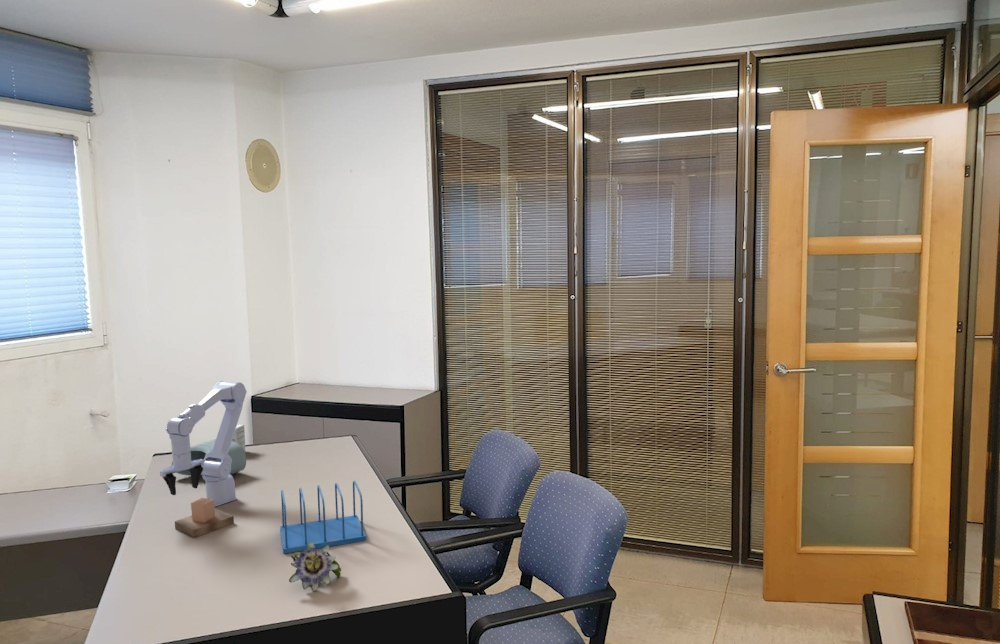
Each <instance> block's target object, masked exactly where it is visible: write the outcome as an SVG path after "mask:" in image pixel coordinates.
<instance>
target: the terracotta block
mask: <svg viewBox="0 0 1000 644" xmlns="http://www.w3.org/2000/svg"><path fill="white" fill-rule="evenodd" d="M215 508H216V507H215V506H214V499H208V498H207V497H200V498H198V499H196V500H194V501H193V502H191V503H190V509H191V516H192V521H198V522H206V521H208V520H210V519H212V518H213V517H215Z"/></svg>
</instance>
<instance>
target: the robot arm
mask: <svg viewBox="0 0 1000 644" xmlns="http://www.w3.org/2000/svg"><path fill="white" fill-rule="evenodd" d="M246 395H247V389H246V387H245V385H244V384H243V383H242V382H240V381H239V382H233V381H224V380H220V381H218V382H216V384H215V385H213V386H212V389H211V390H210V392H209V393H208V394H207V395H206V396H205V397H203V398H202V400H201V401H200V402H199V403H193V404H189V405H188V408H187V409H185V410H184V411H183V412H181V413H179V415H178V416H177V417H173V418H171V419H170V420H168V422H167V424H166V427H165V431H166V433H167V434H168V435H169V440H170V441H171V442H170V443H171V445H170V446H171V454H172V461H173V465H172V464H171V465H170V466H169V467H166V468H163V469H160V470H159V475H160V476H159V477H162V479H163V481H165V483H166V485H167V487H168V489H169V492H170V494H171V495H172V496H176V495H177V491H176V490H177V489H176V481H177V476H175V475H174V474H178V473H177V472H180V471H184V470H187V469H190V473H191V475H190V476H191V477H190V479H191V487H192V488H193V489H198V485H199V481H200V479H201V477H202V476H203V477H204V479H205V480H204V479H203V480H204V482H205V493H206V494H205V495H206V497H205V498H208V499H214V506H215V508H216V507H218V506H221V505H223V504H227V503H229V502H233V501H236V500H237V499H238V498H237V497H236V496H237V495H236V483H235V482H236V481H235V479H234V477H233V475H232V474H231V475H230V472H231V463H232V459H231V457H230V456H229V455H228V451H229V448H230V445H231V442H232V439H233V436H234V432H235V429H236V426H237V424H238V423H239V420H240V418H241V417H240V416H241V413H242V410H243V408H244V407H243V406H244V401H245V398H246ZM218 402H220V403H221V404H222V405H223V406H224V407H225V411H224V413H223V417H222V419H221V422H220V426H219V428H218V431H217V435H216V437H215V439H216V441H215V444H214V447H213V450H212V451H210V452H209V453H207V454H206V455H205V458H204V460H202V459H199V460H194V461H191V451H190V447H191V442H190V437H191V436H190V434H191V433H192V432H193V429H194V427H195V426H196V424H197V423H198V422H199V421H201V420H202V419H203V418H204V417H205V416H206V411H207V410H209V409H210V408H211V407H213V406H214V405H216V404H217V403H218ZM218 460H221V461H218ZM203 477H202V478H203Z"/></svg>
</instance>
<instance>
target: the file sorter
mask: <svg viewBox="0 0 1000 644" xmlns="http://www.w3.org/2000/svg"><path fill="white" fill-rule="evenodd" d="M358 485H359V484H357V481H356V480H353V481H352V505H353V508H352V509H353V515H347V516H345V514H344V513H345V511H344V510H345V508H344V499H343V494H342V491H341V489H340V486H339V484H338V482H335V483H334V493H335V495H334V498H335V516H336V517H335V518H334V517H333V518H329V519H328V518H327V519H326V511H325V510H326V508H325V507H326V505H325V498H324V495H323V492H322V489H321V485H320V484H319V485H317V510H318V520H313V521H308V522H307V516H306V515H307V514H306V502H305V498H304V494H303V489H302V487H301V486H300V487H299V488H298V489H299V490H298V491H299V493H298V494H299V512H300V513H299V514H300V516H299V517H300V523H294V524H288V523H287V507H286V499H285V493H284V490H283V489H281V490H280V494H281V495H280V496H281V497H280V498H281V516H282V517H281V518H282V521H281V522H282V525H281V526H279V530H280V537H281V544H282V545H281V546H282V552H283V554H289V553H290V554H292V553H296V552H301V551H303V552H304V551H305V550H306V549H307V547H308V545H309V543H310V542H311V543H313V544H314V546H315V547H316V549H322V548H324V547H326V546H329V547H334V546H340V545H345V544H348V545H349V544H352V543H359V542H365V541H367V536H366V533H365V531H364V514H363V513H364V510H363V507H364V505H363V503H364V502H363V496H362V492H361V490H360V488H359V486H358ZM355 489H356V490H357V492H358V494H359V499H360V518H359V516H358V514H356V490H355ZM338 494H339V496H340V501H341V517H339V513H338V512H339V511H338V510H339V509H338V506H339V505H338ZM320 497H321V501H322V502H321V501H320ZM320 502H321V503H322V519H321V505H320V504H321V503H320Z"/></svg>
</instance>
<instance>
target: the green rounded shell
mask: <svg viewBox="0 0 1000 644" xmlns="http://www.w3.org/2000/svg"><path fill="white" fill-rule="evenodd" d="M215 441H216V438H215V439H211V440H209V441H204V442H202V443H199V444H195V445H192V446H191V445H190V451H191V461H194V460H199V459H202V460H204V458H205V455H206V454H207V453H209V452H210V451H212V450H213V447H214V444H215ZM228 455H229V456H230V457H231V459H232V463H231V472H230V475H231V476H232V475H233V474H236V473H239V472H242V471H244V469H246V467H247V455H246V450H245V451H244V449H243V447H242V446H241V445H240V444H238V443H236V442H233V441H232V442H231V445H230V448H229V451H228ZM218 461H221V460H218ZM172 465H173V460H172V461H171V466H172ZM176 474H177V475H182V476H191V473H190V469H187V470H184V471H180V472H177V473H176ZM201 477H202V479H203V481H205V479H204V477H203V476H202V475H201Z"/></svg>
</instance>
